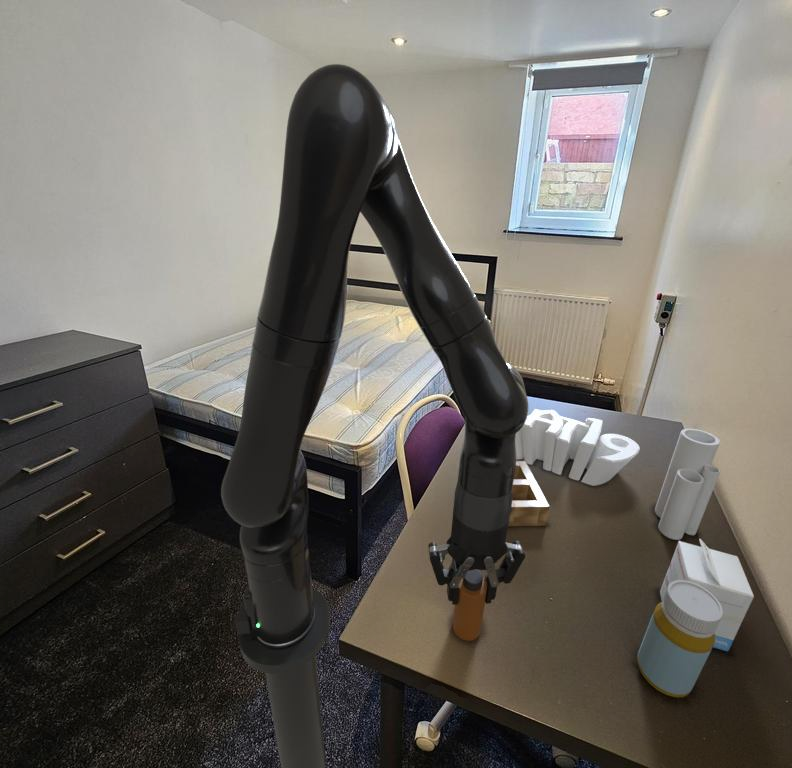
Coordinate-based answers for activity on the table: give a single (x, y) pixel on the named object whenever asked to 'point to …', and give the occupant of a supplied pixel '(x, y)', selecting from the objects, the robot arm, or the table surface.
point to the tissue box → (714, 584)
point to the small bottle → (470, 606)
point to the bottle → (679, 638)
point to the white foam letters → (573, 446)
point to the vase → (688, 484)
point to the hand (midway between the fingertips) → (470, 598)
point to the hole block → (527, 499)
